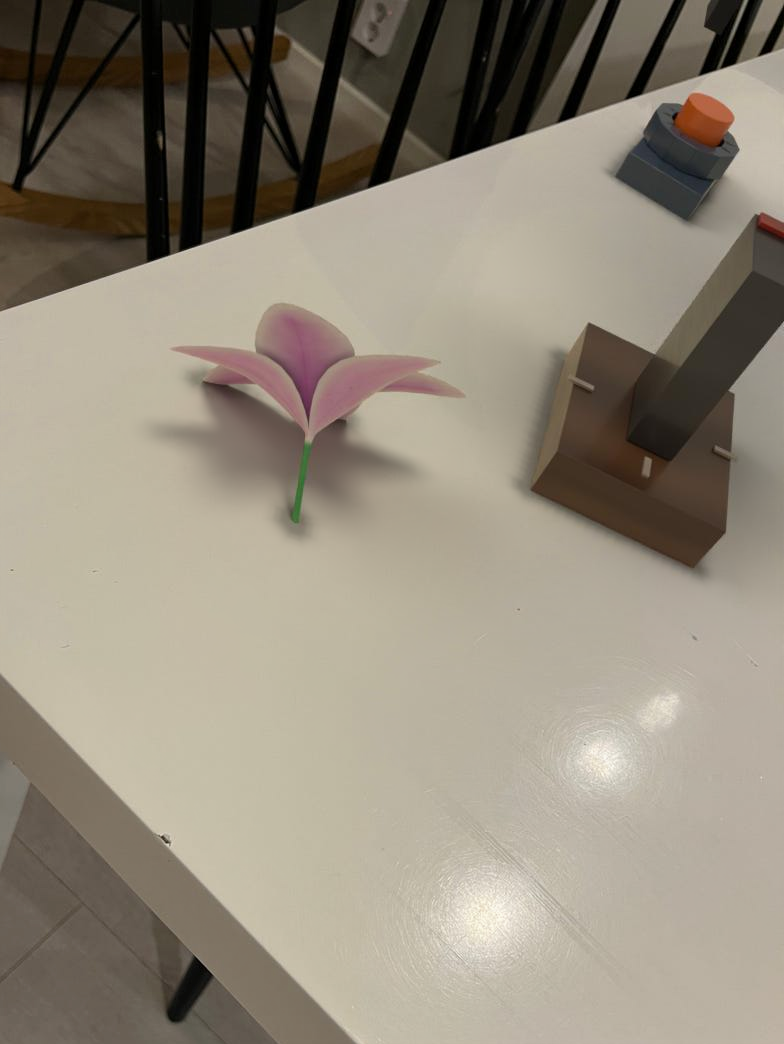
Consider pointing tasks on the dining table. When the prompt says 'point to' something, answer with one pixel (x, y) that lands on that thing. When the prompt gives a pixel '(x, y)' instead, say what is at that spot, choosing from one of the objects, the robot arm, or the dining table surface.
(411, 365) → the lily
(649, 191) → the button box
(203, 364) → the dining table surface
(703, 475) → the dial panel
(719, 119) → the button
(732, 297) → the open box
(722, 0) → the robot arm
